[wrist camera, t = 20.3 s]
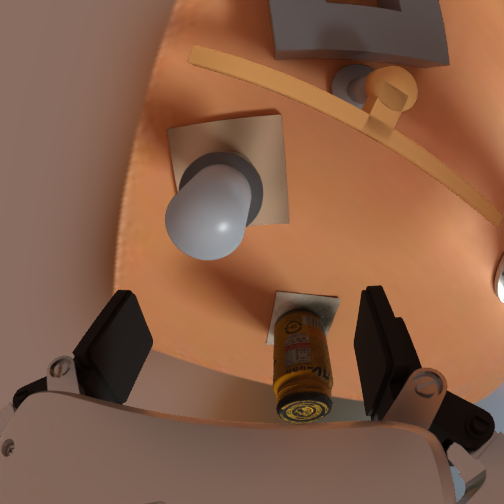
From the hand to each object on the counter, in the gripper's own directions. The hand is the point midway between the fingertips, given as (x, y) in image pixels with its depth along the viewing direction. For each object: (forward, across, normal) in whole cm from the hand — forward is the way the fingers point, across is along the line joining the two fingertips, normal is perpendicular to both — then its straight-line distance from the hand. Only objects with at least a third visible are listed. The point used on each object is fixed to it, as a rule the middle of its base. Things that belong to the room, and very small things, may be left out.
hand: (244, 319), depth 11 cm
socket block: (+17, -9, -16) cm, 25 cm away
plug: (+16, +3, -2) cm, 17 cm away
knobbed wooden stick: (+11, -9, -8) cm, 16 cm away
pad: (+17, +3, -2) cm, 17 cm away
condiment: (+18, -3, +16) cm, 24 cm away
